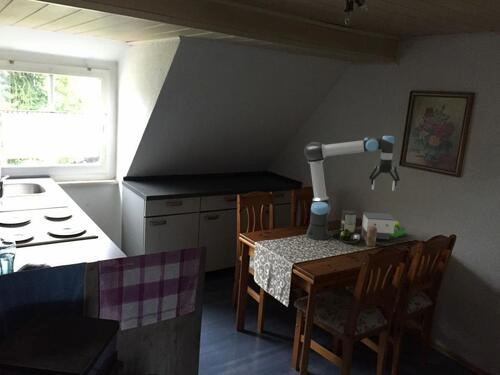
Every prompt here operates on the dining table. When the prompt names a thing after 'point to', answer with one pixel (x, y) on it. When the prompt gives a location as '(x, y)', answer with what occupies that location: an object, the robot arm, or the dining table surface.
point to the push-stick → (371, 236)
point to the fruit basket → (398, 230)
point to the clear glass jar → (348, 220)
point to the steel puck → (356, 236)
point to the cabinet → (378, 224)
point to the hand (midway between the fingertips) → (382, 190)
